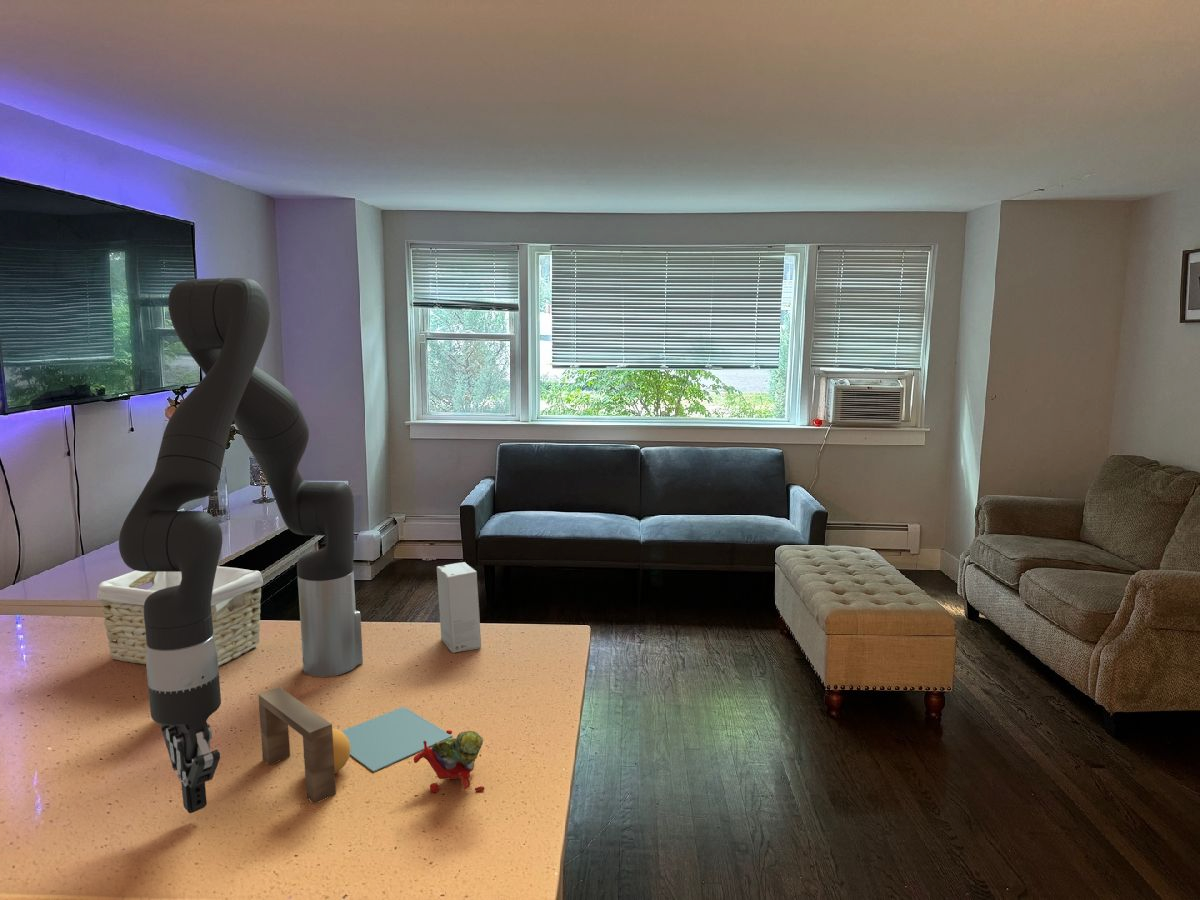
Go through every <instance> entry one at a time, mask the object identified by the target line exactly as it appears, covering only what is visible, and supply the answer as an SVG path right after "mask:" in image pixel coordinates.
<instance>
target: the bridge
mask: <svg viewBox="0 0 1200 900" xmlns="http://www.w3.org/2000/svg"><path fill="white" fill-rule="evenodd" d="M257 696H258V711H259V722H260V723H259V725H260V737H261V750H262V760H263V761H264V762H265V763H266V762H267V763H266V764H268V766H270V765H272V763H273V764H275V763H278V762H280V761H282V760H285V759H288V758H290V757H291V748H290V746H291V745H290V733H289V732H290V730H289V727H290V728H292V729H293V730H294V731H296V732H297V733H298V734H299V735H301V736H302V744H303V747H302V748H303V762H304V775H305V776H304V777H305V778H304V779H305V791H306V792H305V793H306V799H308V800H309V799H310V800H311V801H312V802H313V803H315V804H318V803H319V801H320V802H322V801H324V800H326V799H328V798H330V796H331V797H333V796H335V795H336V794H337V790H336V789H337V787H336V773H335V768H334V750H333V732H332V728H333V724H332V722H330V721H328V720H327V719H326V718H324V717H322V716H321V715H320V714H319V713H317V712H315V711H314V710H313V709H311V708H310V707H309V706H307V705H305V704H304V703H303V702H301V701H300V700H298V699H297V698H295V697H294V696H292V695H291V693H288V692H287V691H285V690H284V689H283V688H281V687H276V688H273V689H270V690H267V691H264V692H261V693H258V694H257ZM289 756H290V757H289ZM287 757H288V758H287ZM279 760H280V761H279ZM277 761H278V762H277ZM334 794H335V795H334ZM332 795H333V796H332ZM327 797H328V798H327ZM325 798H326V799H325ZM323 799H324V800H323ZM310 800H309V801H310ZM321 800H322V801H321ZM311 801H310V802H311ZM312 802H311V803H312ZM313 803H312V804H313Z"/></svg>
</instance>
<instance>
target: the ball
mask: <svg viewBox="0 0 1200 900" xmlns="http://www.w3.org/2000/svg"><path fill="white" fill-rule="evenodd" d="M342 731H343V730H340V729H338V728H335V727H332V732H333V750H334V768H335V774H336V773H338V772H339V771H340V770H342V769H343V767H344V766H346V764H347V762H348V761H349V759H350V757H351V756H350V742H349V740H348V738H347V736H346V735H345V734H344V733H343V732H342Z"/></svg>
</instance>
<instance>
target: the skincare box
mask: <svg viewBox="0 0 1200 900" xmlns="http://www.w3.org/2000/svg"><path fill="white" fill-rule="evenodd" d="M436 576H437V578H436V579H437V590H438V591H437V592H438V593H437V595H438V607H439V608H438V609H439V623H440V639H441V641H442V642H443V643H444V644H445V646H446V647H447V648H448V649H449V651H450V652H451V653H453V654H454V653H458V652H464V651H471V650H478V649H481V648H482V636H481V623H480V622H481V621H480V606H479V605H480V603H479V590H478V588H479V587H478V572H477V570H475V568H473V567H472V566H470V565H469V564H467V562H465V561H463V562H455V563H449V564H445V565H438V566H436Z"/></svg>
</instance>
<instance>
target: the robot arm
mask: <svg viewBox="0 0 1200 900" xmlns="http://www.w3.org/2000/svg"><path fill="white" fill-rule="evenodd" d="M268 300H269V299H268V296H267V294H266V292H265V291H264V289H263V287H262V286H261V285H260V284H259V283H258V282H257V281H255V280H254V279H251V278H247V277H224V278H223V277H221V278H195V279H194V278H193V279H185V280H182V281H179V282H177V283H175V285H173V287H172V288H171V289H170V291H169V295H168V300H167V301H168V303H167V305H168V313H169V316H170V320H171V323H172V326H173V329H174V331H175V333H176V335H177V336H178V338H179V340H180V342H181V343H182V345H183V346H184V348H185V349H186V350H187V352H188V353H189V354H190V356H191V358H192V359H193V360H194V361H195V362H196V364H197V365H198V367H199V368H200V370H201V371H202V372H203V373H204V377H203V378H202V379H201V381H200V382H198V384H197V385H196V386H195V387H194V388H193V389H192V390H191V392H189V393H188V395H187V396H186V397H185V398H184V399H183V400H182V401H181V402H180V404H179V405H178V406H177V407H176V409H175V410H174V412H173V413H172V415H171V416H170V418H169V420H168V422H167V424H166V426H165V428H164V432H163V435H162V439H161V443H160V447H159V452H158V455H157V459H156V462H155V467H154V470H153V472H152V475H151V476H150V478H149V479H148V481H147V483H146V484H145V486H144V488H143V490H142V491H141V493H139V497H138V498H137V499H136V501H135V503H134V504H133V506H132V508H131V509H130V511H129V512H128V514H127V516H126V517H125V519H124V522H123V524H122V527H121V530H120V533H119V538H118V550H119V553H120V554H119V555H120V557H121V559H122V561H123V563H124V564H125V565H126V566H127V567H128V568H130V569H131V570H134V571H142V572H181V574H182V580H181V583H180V585H178V586H173V587H168V588H165V589H161V590H158V591H156V592H154V593H152V594H151V595H149V596H148V597H147V599H146V600H145V603H144V622H145V631H146V642H147V655H146V665H145V668H146V677H147V688H148V700H149V712H150V717H151V719H152V720H153V722H155V723H156V724H158V725H160V731H161V732H162V736H163V739H164V741H165V746H166V749H167V753H168V756H169V758H170V762H171V768H172V769H173V770H174V771H177V779H178V780H179V781H180V783H181V791H182V792H181V793H182V802H183V803H182V805H183V808H184V809H185V810H186V811H187V812H188V813H189V814H192V813H195V812H198V811H200V810H202V809H204V808H205V807H206V806H207V804H208V803H207V802H208V801H207V790H206V783H207V782H208V781H212V780H213V778H214V775H215V774H216V770H217V767H218V764H219V762H220V760H221V753H220V752H219V750H218V749H215V750H212V751H211V740H212V737H213V735H212V732H213V731H212V727H211V724H208V719H209V717H211V715H213V714H214V713H216V711H218V710H219V709H220V706H221V704H222V699H221V698H222V697H221V696H222V695H221V686H220V685H221V684H220V671H219V667H218V657H217V649H216V645H215V641H214V635H213V623H212V613H211V598H212V591H213V585H214V579H215V574H216V569H217V566H219V565H218V564H219V560H220V556H221V552H222V548H223V531H222V528H221V526H220V523H219V522H218V521H217V518H215V517H214V516H213V515H212V514H211V513H209V512H206V511H202V510H179V509H180V508H181V507H182V506H183V505H184V504H187V503H189V502H192V501H195V500H200V499H202V498H207V497H209V496H211V495H212V494H214V493H215V491H216V490H217V488H218V486H219V485H218V484H219V480H220V477H221V472H222V467H223V462H224V457H225V455H226V454H225V453H226V449H227V445H228V439H229V436H230V432H231V428H232V424H233V422H234V424H235V426H236V428H237V430H238V432H239V433H240V436H241V437H242V439H243V440H244V443H245V444H246V446H247V447H248V449H249V451H250V452H251V454H252V455H253V457H254V458H255V460H256V462H257V464H258V466H259V468H260V470H261V472H262V474H263V476H264V478H265V479H266V482H267V484H268V486H269V488H270V491H271V494H272V496H273V498H274V500H275V503H276V506H277V509H278V511H279V514H280V516H281V518H282V520H283V522H284V524H285V526H286V527H287V529H288V530H290V531H291V532H292V533H294V534H296V535H300V536H323V537H326V544H325V546H324V547H323V548H320V549H317V550H313V551H311V552H310V551H309V552H308V553H305V554H304V555H302V556H300V558H298V560H297V563H296V572H297V574H296V575H297V587H298V603H299V620H300V621H299V622H300V634H301V635H300V637H301V652H302V654H301V655H302V657H301V658H302V659H301V660H302V670H303V672H304V673H305V674H306V675H309V676H312V677H316V678H317V677H321V678H325V677H327V678H328V677H334V676H335V677H336V676H338V675H343V674H346V673H348V672H350V671H352V670H354V669H355V668H356V667H357V666H359V665H360V664H363V663H364V658H363V657H364V655H363V641H362V640H363V639H362V638H363V636H362V619H361V618H362V617H361V612H360V611H359V610H357V609H356V594H355V575H354V556H355V555H354V554H355V501H354V495H353V492H352V489H351V487H350V486H349V485H348V484H347V483H345V482H342V481H309V480H306V479H305V478H303V477H302V476H301V474H300V472H299V470H298V469H299V468H298V467H299V464H300V462H301V460H302V457H303V456H304V454H305V452H306V448H307V446H308V443H309V438H310V431H309V426H308V423H307V421H306V418H305V416H304V414H303V412H302V409H301V407H300V405H299V403H298V401H297V399H296V398H295V396H294V395H293V394H292V392H291V391H290V390H289V389H288V388H287V387H285V386H284V385H283V384H282V383H280V381H278V380H277V379H275V378H274V377H273V376H271V375H269V374H268V373H266V372H265V371H264V370H262V369H261V368H259V367H257V365H256V364H257V363H258V362H257V361H258V360H259V357H260V355H261V352H262V349H263V348H264V345H265V342H266V338H267V336H268V331H269V327H270V316H271V315H270V314H271V313H270V312H271V310H270V304H269V301H268Z"/></svg>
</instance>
